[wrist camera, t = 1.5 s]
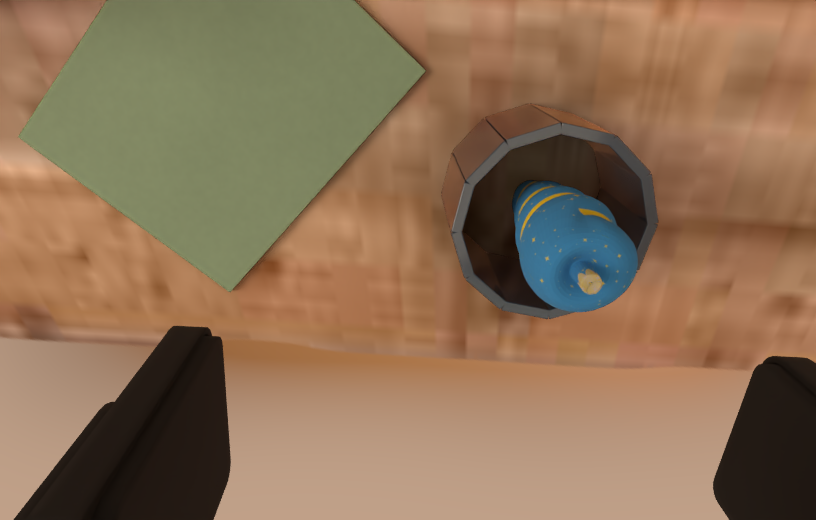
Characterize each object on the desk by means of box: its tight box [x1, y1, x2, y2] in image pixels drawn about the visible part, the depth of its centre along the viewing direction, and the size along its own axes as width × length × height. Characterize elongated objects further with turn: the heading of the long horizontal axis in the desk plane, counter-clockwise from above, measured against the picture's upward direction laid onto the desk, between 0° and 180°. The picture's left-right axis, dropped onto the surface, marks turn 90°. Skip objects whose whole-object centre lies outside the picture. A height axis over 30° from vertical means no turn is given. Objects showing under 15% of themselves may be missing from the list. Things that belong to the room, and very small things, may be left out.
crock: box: [441, 104, 658, 319], centre depth 33 cm, size 11×11×8 cm
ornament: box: [512, 180, 638, 312], centre depth 30 cm, size 5×5×15 cm
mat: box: [18, 0, 426, 292], centre depth 34 cm, size 20×16×1 cm
